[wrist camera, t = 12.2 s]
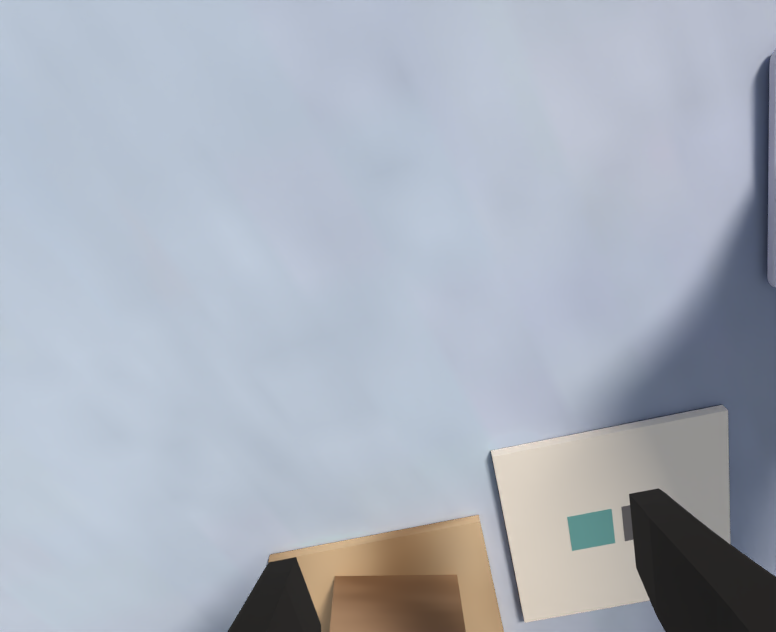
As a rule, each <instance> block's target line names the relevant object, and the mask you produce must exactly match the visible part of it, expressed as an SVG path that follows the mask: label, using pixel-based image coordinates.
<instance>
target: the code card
mask: <svg viewBox="0 0 776 632" xmlns="http://www.w3.org/2000/svg"><path fill="white" fill-rule="evenodd" d="M491 455H492V460H493V465H494V470H495V476H496V481H497V486H498V491H499V496H500V501H501V506H502V511H503V516H504V521H505V527H506V532H507V537H508V542H509V547H510V552H511V557H512V562H513V567H514V572H515V577H516V583H517V588H518V593H519V598H520V603H521V608H522V613H523V617H524V621H525V623H526V622H531V621H537V620H543V619H548V618H554V617H560V616H565V615H571V614H577V613H582V612H588V611H594V610H599V609H605V608H611V607H616V606H622V605H628V604H633V603H639V602H645V601H650V599H649V597H648V595H647V592H646V590H645V588H644V585H643V583H642V581H641V578H640V576H639V574H638V571H637V569H636V562H635V551H634V541H633V530H632V520H631V509H630V499H629V494H631V493H636V492H642V491H647V490H652V489H657V488H659V489H660V490H662V491H663V492H665V493H666V494H667V495H668V496H670V497H671V498H672V499H673V500H675V501H676V502H677V503H678V504H679V505H681V506H682V507H683V508H684V509H686V510H687V511H688V512H689V513H691V514H692V515H693V516H694V517H696V518H697V519H698V520H699V521H701V522H702V523H703V524H704V525H706V526H707V527H708V528H710V529H711V530H712V531H713V532H715V533H716V534H717V535H719V536H720V537H721V538H723V539H724V540H725V541H726V542H728V543H729V544H730V494H729V438H728V410H727V409H726V408H725V407H724V406H723V405H719V406H714V407H709V408H704V409H699V410H694V411H689V412H684V413H678V414H673V415H668V416H663V417H658V418H653V419H648V420H643V421H638V422H633V423H628V424H623V425H618V426H613V427H608V428H603V429H598V430H593V431H588V432H583V433H578V434H573V435H568V436H563V437H558V438H552V439H547V440H542V441H537V442H532V443H527V444H522V445H517V446H512V447H507V448H502V449H497V450H492V451H491Z"/></svg>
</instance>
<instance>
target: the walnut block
mask: <svg viewBox="0 0 776 632" xmlns="http://www.w3.org/2000/svg"><path fill="white" fill-rule="evenodd" d="M330 632H466V629H465V623H464V616H463V610H462V604H461V597H460V591H459V584H458V578H457V575H383V576H335V578H334V589H333V600H332V611H331V621H330Z"/></svg>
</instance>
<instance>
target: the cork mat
mask: <svg viewBox="0 0 776 632" xmlns="http://www.w3.org/2000/svg"><path fill="white" fill-rule="evenodd" d="M294 557H296V558H297V561H298V564H299V566H300V569H301V572H302V574H303V577H304V580H305V582H306V585H307V588H308V591H309V593H310V596H311V599H312V601H313V604H314V607H315V609H316V612H317V615H318V617H319V620H320V623H321V632H330V621H331V611H332V600H333V589H334V578H335V576H383V575H457V578H458V584H459V591H460V597H461V604H462V610H463V616H464V623H465V629H466V632H504V631H503V626H502V621H501V617H500V612H499V608H498V603H497V598H496V594H495V589H494V584H493V580H492V575H491V570H490V566H489V561H488V557H487V552H486V547H485V543H484V538H483V533H482V529H481V524H480V520H479V515H476V516H470V517H465V518H460V519H455V520H450V521H444V522H439V523H434V524H429V525H423V526H418V527H413V528H408V529H402V530H397V531H392V532H387V533H381V534H376V535H371V536H366V537H360V538H355V539H350V540H345V541H339V542H334V543H329V544H324V545H318V546H313V547H308V548H303V549H297V550H292V551H287V552H282V553H276V554H271V555H270V556H269V561H268V563H269V562H273V561H278V560H283V559H289V558H294Z"/></svg>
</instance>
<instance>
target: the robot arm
mask: <svg viewBox="0 0 776 632" xmlns="http://www.w3.org/2000/svg"><path fill="white" fill-rule="evenodd" d="M767 278H768V282H769V283H770V285H771V286H773V287H775V288H776V49H775V50H774V52H773V54H772V55H771V58H770V65H769V166H768V268H767ZM629 499H630V509H631V520H632V530H633V541H634V551H635V562H636V569H637V571H638V574H639V576H640V578H641V581H642V583H643V585H644V588H645V590H646V592H647V595H648V597H649V599H650V601H651V604H652V606H653V608H654V610H655V613H656V615H657V617H658V619H659V621H660V622H661V624H662V626H663V628H664V630H665V631H666V632H776V577H775V576H774V575H772V574H771V573H769V572H768V571H767V570H765V569H764V568H762V567H761V566H759V565H758V564H757V563H755V562H754V561H752V560H751V559H750V558H748V557H747V556H746V555H744V554H743V553H741V552H740V551H739V550H737V549H736V548H735V547H733V546H732V545H731V544H729V543H728V542H726V541H725V540H724V539H723V538H721V537H720V536H719V535H717V534H716V533H715V532H713V531H712V530H711V529H710V528H708V527H707V526H706V525H704V524H703V523H702V522H701V521H699V520H698V519H697V518H696V517H694V516H693V515H692V514H691V513H689V512H688V511H687V510H686V509H684V508H683V507H682V506H681V505H679V504H678V503H677V502H676V501H675V500H673V499H672V498H671V497H670V496H668V495H667V494H666V493H665V492H663V491H662V490H660V489H659V488H657V489H652V490H647V491H642V492H636V493H631V494H629ZM228 632H321V623H320V620H319V617H318V615H317V612H316V609H315V607H314V604H313V601H312V599H311V596H310V593H309V591H308V588H307V585H306V582H305V580H304V577H303V574H302V572H301V569H300V566H299V564H298V561H297V558H296V557H294V558H289V559H283V560H278V561H273V562H269V563H268V565H267V566H266V568H265V569H264V571H263V573H262V574H261V576H260V578H259V580H258V581H257V583H256V585H255V586H254V588H253V590H252V592H251V593H250V595H249V597H248V598H247V600H246V602H245V604H244V605H243V607H242V609H241V610H240V612H239V614H238V615H237V617H236V619H235V620H234V622H233V624H232V625H231V627H230V628H229V630H228Z"/></svg>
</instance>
